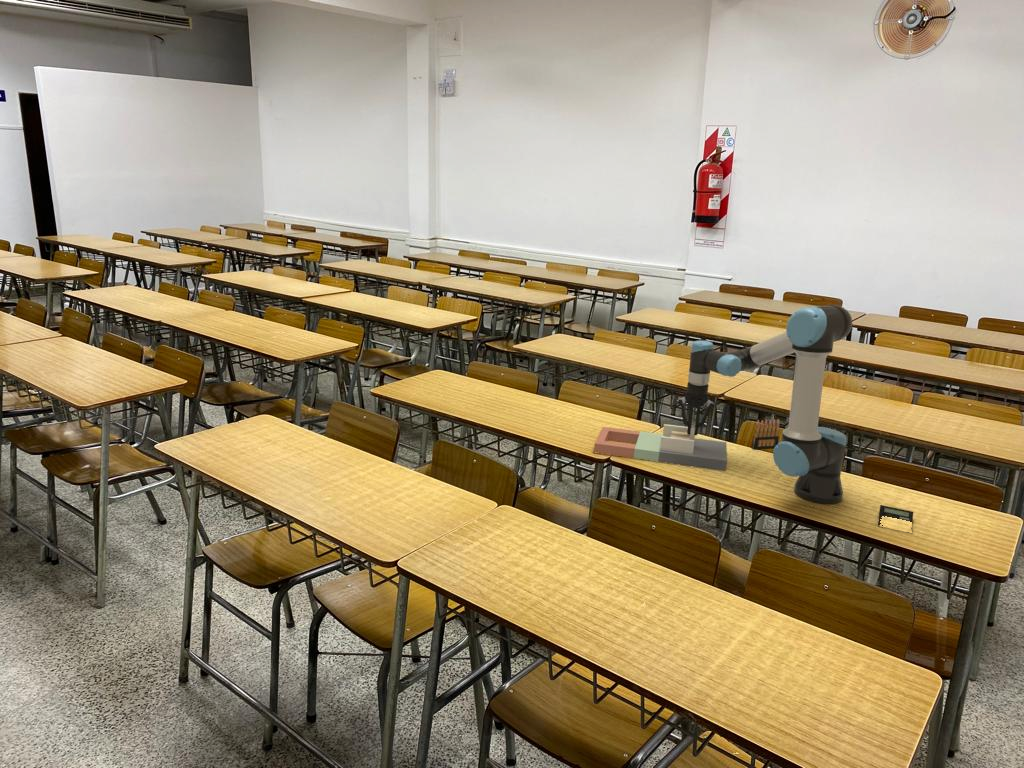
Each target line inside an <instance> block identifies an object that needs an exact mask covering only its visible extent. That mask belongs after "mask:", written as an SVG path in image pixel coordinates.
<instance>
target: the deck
mask: <svg viewBox="0 0 1024 768" xmlns="http://www.w3.org/2000/svg"><path fill="white" fill-rule="evenodd" d="M662 431H663V432H662V433H658V432H657V433H656V432H655V433H654V432H648V431H641V430H640V431H639V430H633V429H632V430H631V429H623V428H616V427H610V426H609V427H608V426H602V428H601V430H600V432H599V434H598V436H597V438H596V440H595V441H594V449H593V453H594V452H599V453H603V454H609V455H608V456H610V455H613V456H612V457H618V456H622V457H621V458H625V457H629V458H628V459H632V458H635V459H634V460H640V459H644V460H643V461H647V460H650V461H649V462H655V461H658V462H657V463H662V462H667V463H666V464H669V463H673V464H672V465H677V464H680V465H679V466H684V465H685V467H691V466H693V467H692V468H701V469H706V468H707V469H708V470H714V471H715V470H716V471H722V472H726V471H727V462H728V461H727V460H728V459H727V455H728V453H727V452H728V451H727V441H720V440H719V441H718V440H713V439H712V440H711V439H704V438H696V435H694V440H689V439H681V438H673V437H671V433H672V431H676V432H684V433H687V431H688V426H683V425H674V424H663V430H662ZM610 440H612V441H610ZM618 441H620V442H618ZM625 442H628V443H625ZM633 443H635V444H633ZM603 454H602V455H603Z"/></svg>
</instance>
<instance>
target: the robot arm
mask: <svg viewBox="0 0 1024 768" xmlns="http://www.w3.org/2000/svg"><path fill="white" fill-rule="evenodd" d="M852 327H853V318H852V316H851V313H850V311H848V310H847V309H846V308H844V307H843V306H841V305H837V304H827V305H815V306H807V307H804V308H799V309H798V310H796V311H794V312H793V313H792V314H791V315H790V317H789V318H788V320H787V323H786V331H785V332H782V333H780V334H778V335H775V336H773V337H771V338H769V339H766V340H764V341H761V342H759V343H757V344H754V345H752V346H749V347H747V348H744V349H740V350H733V351H727V352H724V351H718V350H715V349H714V344H713V342H712V341H708V340H694V341H693V342H692V343H691V344H692V345H691V349H690V350H691V351H690V356H689V357H690V358H689V369H688V375H687V376H688V377H687V381H688V382H687V384H686V385H687V386H686V393H685V394H684V396H683V397H680V398H678V404H679V405H680V409H681V415H682V422H683V423H682V424H683V425H685V426H686V427H688V431H687V434H688V435H690V440H694V435H695V436H698V433H699V428H700V427H702V428H703V427H704V426H705V423H706V420H707V418H708V415H709V413H710V411H711V409H712V408H714V404H715V403H714V402H713V401H711V400H710V399H709V396H708V393H709V387H710V386H709V382H710V374H711V372H713V373H716V374H719V375H722V376H724V377H730V378H734V377H735V376H737V375H738V374H739V373H740V372H743V371H753V370H756V369H758V368H761V367H762V366H763V365H765V364H767V363H770V362H773V361H776V360H778V359H781V358H783V357H786V356H789V355H792V354H794V353H795V363H794V364H795V365H794V372H793V382H792V390H791V391H792V392H791V401H790V409H789V419H788V426H787V427H786V428H785V429H783V430H782V435H781V441H780V442H779V441H778V444H777V445H776V446H775V448H774V449H773V450H772V451H773V452H772V457H773V458H772V459H773V461H774V464H775V466H776V467H777V468H778V470H779V472H781V473H782V474H784V475H786V476H787V477H796V478H797V479H796V481H795V483H794V488H793V492H794V494H796V495H797V496H798V497H800V498H802V499H804V500H806V501H809V502H812V503H817V504H822V505H823V504H825V505H833V504H838V502H839V503H840V502H842V500H843V496H844V490H843V486H842V485H843V484H842V479H841V474H842V469H843V462H844V458H845V452H846V447H847V436H846V435H845V434H844V433H843V432H842V431H838V430H836V429H833V428H829V427H824V426H819V420H820V419H819V418H820V410H821V404H822V403H821V402H822V395H823V386H824V385H823V384H824V378H825V370H826V369H825V368H826V361H827V357H828V356H829V355H830V354H832V353H833V349H834V348H833V347H834V342H839V341H841V340H843V339H844V338H846V337H847V336H848V335H849V334H850V332H851V331H852ZM686 403H687V404H688V406H689V415H688V419H687V411H686ZM705 405H706V409H704V413H703V416H702V419H701V421H700V415H701V408H702V407H703V406H705ZM694 408H696V415H695V425H693V417H694V416H693V415H694Z"/></svg>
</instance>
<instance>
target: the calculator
mask: <svg viewBox="0 0 1024 768" xmlns="http://www.w3.org/2000/svg"><path fill="white" fill-rule="evenodd" d="M882 516H884V517H885V516H887V517H892V518H897V519H902V520H906V521H910V522H912V523H913V520H914V511H911V510H906V509H903V508H897V507H892V506H888V505H883V504H880V505H879V512H878V519H879V521H878V520H877V522H878V523H877V526H878V525H880V524H881V523H880V521H881V520H880V519H882V518H881V517H882ZM882 526H883V525H882Z"/></svg>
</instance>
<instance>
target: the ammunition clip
mask: <svg viewBox="0 0 1024 768" xmlns="http://www.w3.org/2000/svg"><path fill="white" fill-rule="evenodd" d="M779 433H780V419H779V418H778V419H777V420H776V419H775V418H774V419H773V420H772V419H769V421H768V419H765V421H764V419H761V421H760V420H759V419H758V420H757V421H756V424H755V429H754V433H753V435H752V439H751V440H752V441H751V449H752V450H753V451H755V450H756V451H757V450H772V449H773V450H774V448H775V446H776V445H777V444H778V443H779V439H780V436H779Z"/></svg>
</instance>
